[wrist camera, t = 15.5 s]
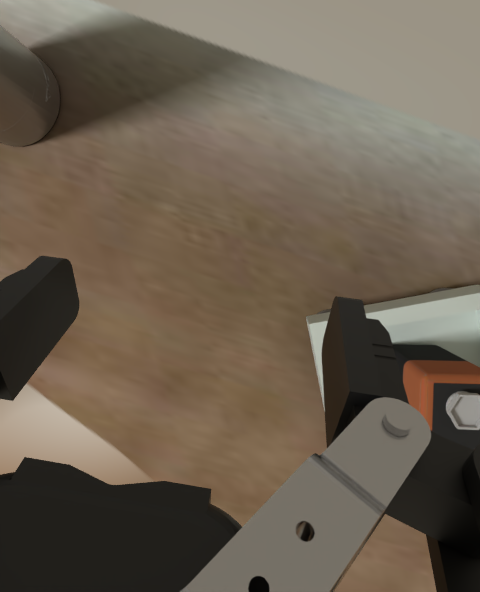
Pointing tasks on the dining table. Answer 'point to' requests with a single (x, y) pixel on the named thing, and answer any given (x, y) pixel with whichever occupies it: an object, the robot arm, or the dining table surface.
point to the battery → (442, 391)
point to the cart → (419, 323)
